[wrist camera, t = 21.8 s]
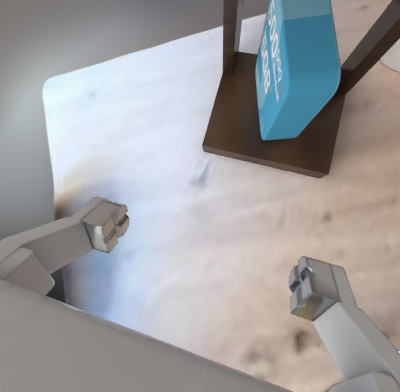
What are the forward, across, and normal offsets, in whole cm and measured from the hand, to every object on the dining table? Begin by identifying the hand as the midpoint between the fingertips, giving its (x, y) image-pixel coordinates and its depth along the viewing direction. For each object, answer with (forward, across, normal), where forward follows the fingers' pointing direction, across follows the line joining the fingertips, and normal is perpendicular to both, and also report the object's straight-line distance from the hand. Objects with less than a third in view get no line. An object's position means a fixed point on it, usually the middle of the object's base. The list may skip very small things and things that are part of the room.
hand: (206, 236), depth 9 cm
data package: (+28, -3, 0) cm, 28 cm away
